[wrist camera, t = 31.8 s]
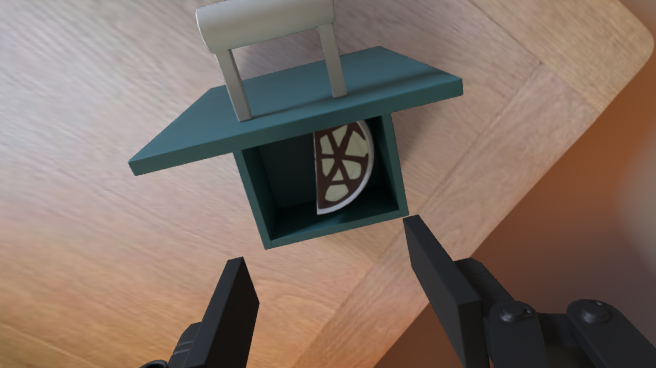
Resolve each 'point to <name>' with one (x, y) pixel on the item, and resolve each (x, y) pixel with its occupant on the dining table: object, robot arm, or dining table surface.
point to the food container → (341, 164)
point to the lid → (287, 85)
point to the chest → (300, 188)
